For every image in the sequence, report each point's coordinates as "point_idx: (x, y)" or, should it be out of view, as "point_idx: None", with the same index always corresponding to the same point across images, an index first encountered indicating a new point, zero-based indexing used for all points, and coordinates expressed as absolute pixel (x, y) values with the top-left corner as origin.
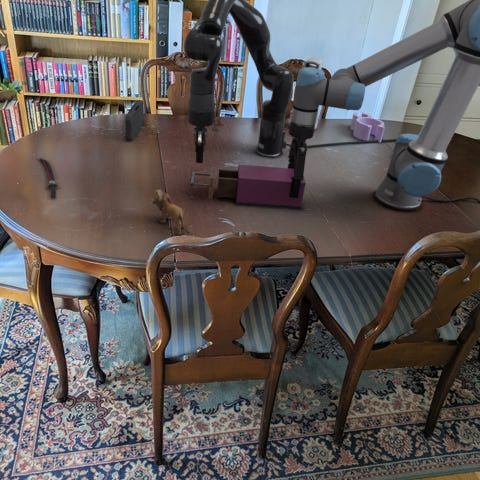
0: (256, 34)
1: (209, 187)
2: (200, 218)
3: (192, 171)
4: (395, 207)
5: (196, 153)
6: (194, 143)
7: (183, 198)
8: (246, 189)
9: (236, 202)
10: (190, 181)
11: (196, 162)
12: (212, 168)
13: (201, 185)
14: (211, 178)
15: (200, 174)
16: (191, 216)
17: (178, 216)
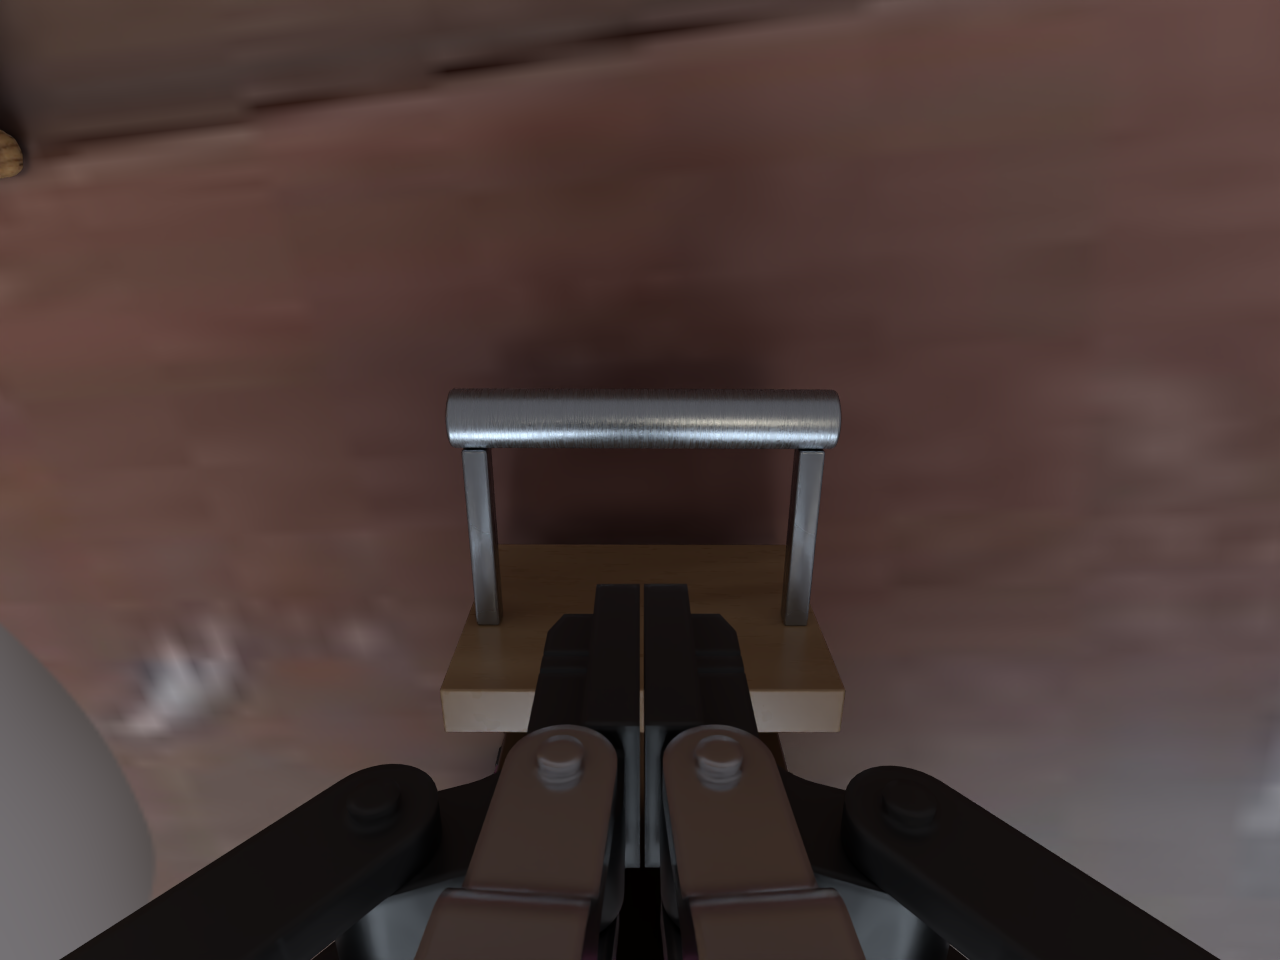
0: None
1: (470, 615)
2: (151, 472)
3: (834, 410)
4: None
5: (585, 703)
6: (423, 934)
7: (517, 276)
8: None
9: (497, 762)
10: (513, 400)
11: (596, 589)
12: (762, 713)
13: (471, 534)
14: (442, 707)
15: (793, 509)
16: (157, 387)
17: None
